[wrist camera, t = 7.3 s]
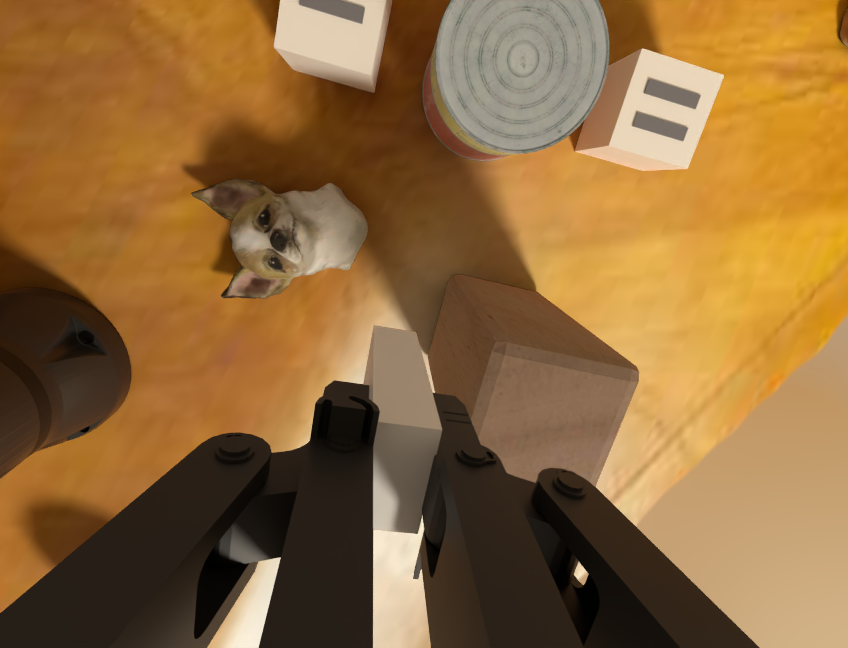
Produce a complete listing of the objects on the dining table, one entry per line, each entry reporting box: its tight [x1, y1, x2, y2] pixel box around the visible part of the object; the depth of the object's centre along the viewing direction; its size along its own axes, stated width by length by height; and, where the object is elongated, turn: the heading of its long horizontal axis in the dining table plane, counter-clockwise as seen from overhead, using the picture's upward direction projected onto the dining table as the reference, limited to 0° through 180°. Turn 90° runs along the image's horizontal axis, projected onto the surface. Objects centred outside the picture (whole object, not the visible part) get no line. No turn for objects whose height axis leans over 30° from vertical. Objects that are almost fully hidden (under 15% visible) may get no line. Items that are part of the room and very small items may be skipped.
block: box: [428, 274, 639, 486], centre depth 37 cm, size 10×10×20 cm
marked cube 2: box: [274, 0, 392, 93], centre depth 35 cm, size 7×7×7 cm
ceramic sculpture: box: [191, 178, 368, 299], centre depth 39 cm, size 11×9×15 cm
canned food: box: [422, 0, 610, 161], centre depth 35 cm, size 11×11×12 cm
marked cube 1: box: [575, 48, 724, 171], centre depth 38 cm, size 7×7×7 cm
